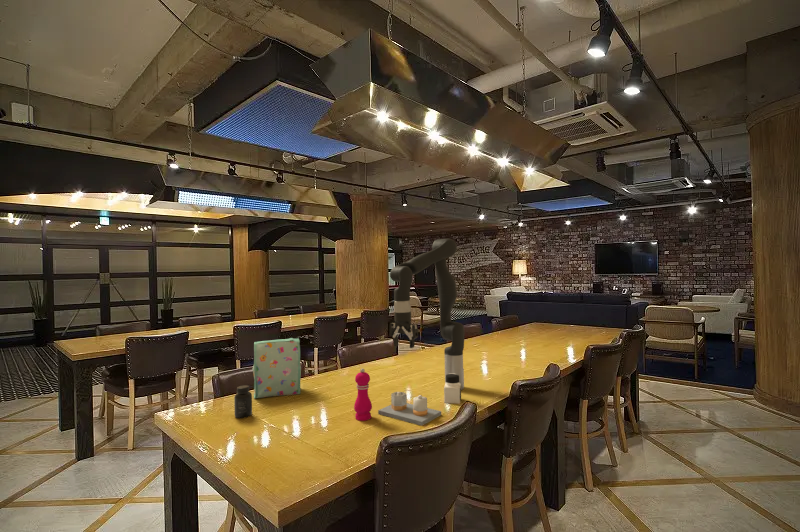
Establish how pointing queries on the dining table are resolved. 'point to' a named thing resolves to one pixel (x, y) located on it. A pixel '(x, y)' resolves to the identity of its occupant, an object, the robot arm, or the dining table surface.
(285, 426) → the dining table surface
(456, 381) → the medicine bottle
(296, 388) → the lunch bag
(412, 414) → the pin board
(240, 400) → the supplement bottle
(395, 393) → the sleeve
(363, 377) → the pepper mill
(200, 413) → the dining table surface
